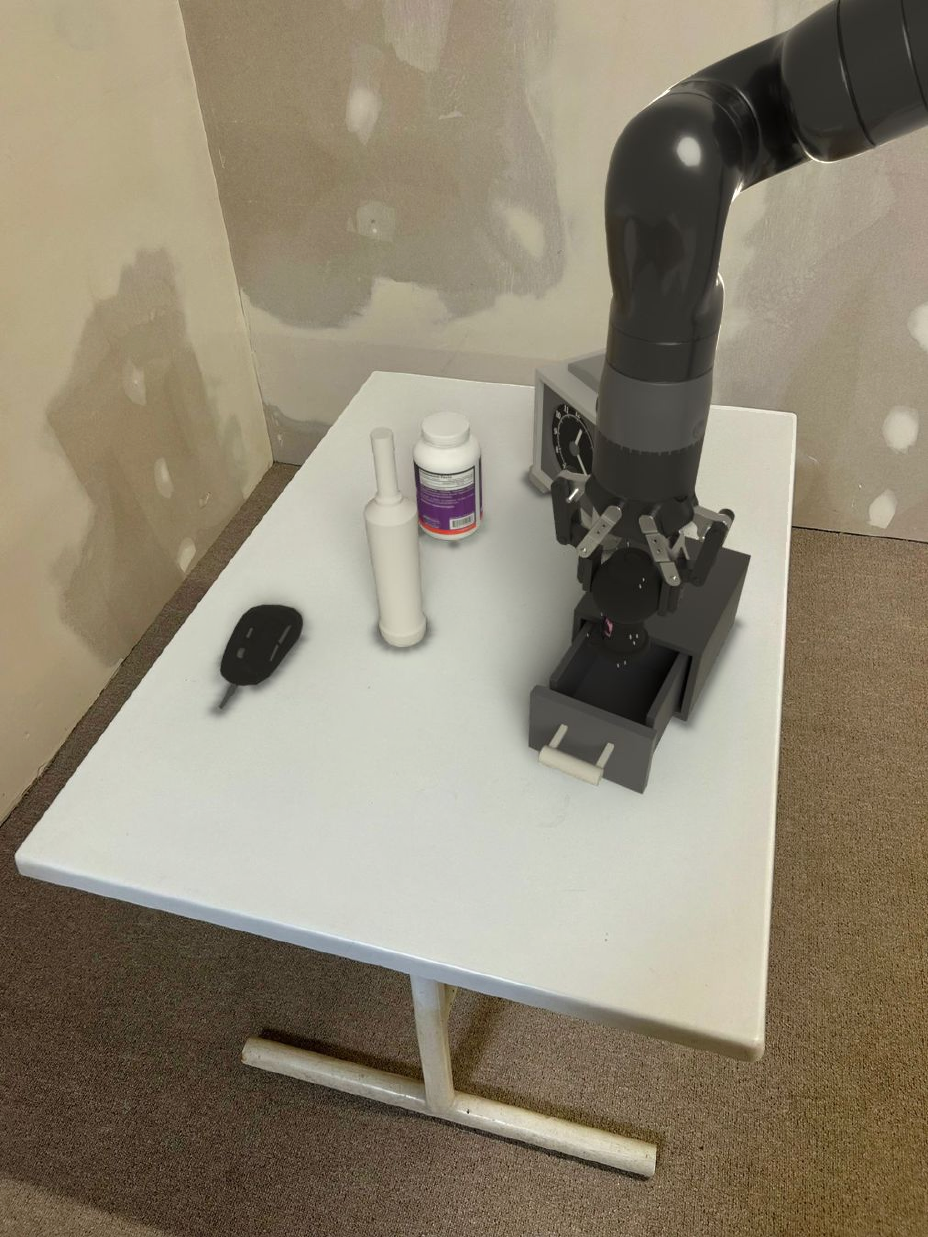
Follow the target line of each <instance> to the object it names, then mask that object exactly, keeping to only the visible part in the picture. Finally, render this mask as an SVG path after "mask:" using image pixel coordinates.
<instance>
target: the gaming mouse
mask: <svg viewBox="0 0 928 1237" xmlns="http://www.w3.org/2000/svg"><path fill="white" fill-rule="evenodd" d="M303 625H304V621H303V617H302V614H301V613H300V612H299V611H298V610H297V609H296V608H294V607H292V606H287V605H283V604H268V603H267V604H266V603H265V604H259V605H256V606H253V607H250V608H249V609H248V610H247V611H245V612H244V613H243V614H242V615H241V617H240V618H239V620H238V621H237V623H236V624H235V626H234V628H233V630H232V633H231V634H230V637H229V639H228V641H227V643H226V646H225V649H224V652H223V655H222V658H221V661H220V668H219V672H220V676H221V677H222V678H223V679H225V680H226V681H227V682H228V683H229V684H230V686H229V687H228V689H227V691H226V695H225V696H224V698H223V700H222V701H221V703H220V704H219V706H218V708H219V709H221V710H223V709H224V707H225V705H226V704H227V702H228V701H229V699H230V697H231V696H233V695H234V693H235V691H236V689H237V688H238V686H239V687H240V686H241V687H244V686H254V685H255V686H256V685H259V684H260V683H262V682H263V681H265V680H266V679H267V678H269V677H270V676H271V675H272V674H273V673H274V671H275V670H276V669H277V667H278V666H279V665H280V664H281V662H282V661H283V659H284V658H285V657H286V655H287V654H288V653H289V651H290V650H291V649H292V648H293V646H294V645H295V644H296V642H297V641H298V639H299V638H300V636H301V633H302V630H303V627H304V626H303Z"/></svg>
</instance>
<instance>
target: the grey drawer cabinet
mask: <svg viewBox="0 0 928 1237" xmlns="http://www.w3.org/2000/svg"><path fill="white" fill-rule="evenodd" d="M627 539H628V541H629V542H630V547H634V548H639V549H642V550H644V551H646V552H647V553H648V554H649V555H650V556H651V557H652V559H653V562H654V564H655V565H656V566H657V567H658V568H659V569H660V571H661V573H662V576H663V579H665V577H664V575H663V572H662V569H661V566H660V564H659V563H656V562H655V560H654V557H653V554H652V552H651V549H650V546H646V545H643V544H640V543H638V542H636V541H635V540H633V539H629V538H622V539H621V541H620V542H619V544H618V545H617V547H618V550H619V549H621V548H625V547H627ZM703 543H704V542H700V541H699V539H696V538H693V537H690V536H687V535H685V547H686V550H687V553H688V556H689V559H697V557H698V555H699V552H700V550H701V547H702V545H703ZM615 551H617V550H616V548H614V549H613V551H612V553H611V554H610V555H609V557H608V559H609V558H610V557H611V556H612V555H613V553H614V552H615ZM751 559H752V554H748V553H744V552H741V551H738V550H735V549H731V548H728V547H724V546H722V548H721V551H720V553H719V555H718V557H717V560H716V562H715V564H714V566H713V568H712V570H711V572H710V574H709V576H708V578H707V580H706V581H705V583H704V585H703V586H701V587H696V586H694V585H692V584H691V583H685V588H684V593H683V598H682V601H681V602H680V604H679V606H678V608H677V610H676V611H675V612H674V613H670V612H669V613H668V615H667V616H666V617H662V616H659V615H657V611H658V610H657V611H656V612H655V614H653V615H652V616H650V617H649V618H648V619H646V620H645V621H644V628H645V629H646V630H647V632H648V635H649V639H650V642H652V643H655V644H658V645H661V646H664V647H667V648H669V649H672V650H675V651H678V652H681V653H684V654H687V655H690V656H693V657H692V662H691V666H690V671H689V676H688V680H687V685H686V689H685V691H684V693H683V695H682V697H681V699H680V701H679V703H678V705H677V707H676V709H675V711H674V713H673V715H672V717H673V718H675V719H676V718H677V719H678V720H681V721H683V722H687V721H688V720H689V717H690V716H691V714H692V711H693V709H694V707H695V706H696V703H697V701H698V699H699V697H700V695H701V693H702V690H703V688H704V687H705V685H706V682H707V680H708V678H709V676H710V674H711V672H712V670H713V667H714V665H715V663H716V661H717V659H718V657H719V655H720V653H721V651H722V649H723V647H724V645H725V643H726V641H727V638H728V636H729V634H730V632H731V630H732V629H733V628H732V627H733V626H734V623H735V620H736V616H737V612H738V608H739V604H740V601H741V596H742V594H743V593H742V592H743V590H744V585H745V581H746V577H747V573H748V569H749V566H750V562H751ZM603 616H604V615H603ZM602 619H603V617H602V616H601V612H600V610H599V609H598V608H597V606H596V605H595V603H594V599H593V595H592V592H591V593H589V592H586V591H585V593H584V594H583V596H582V597H581V599H580V600H579V602H578V603H577V604H576V606H575V608H574V609H573V619H572V631H571V643H570V645H571V644H572V643H573V641H574V640H575V638H576V637H577V635H578V634H579V632H580V631H581V629H582V628H583V626H584V624H585V623H586V621H587V620H588V621H591V622H594V623H597V624H599V623H601V622H602Z"/></svg>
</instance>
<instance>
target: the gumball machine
mask: <svg viewBox="0 0 928 1237" xmlns="http://www.w3.org/2000/svg"><path fill="white" fill-rule="evenodd" d="M615 541H616V543H617V538H616V536H615ZM616 550H617V551H615V552H614V553H613V552H612V553H613V555H612V556H611V555H610V556H611V557H610V556H609V557H610V558H609V557H608V558H607V559H606V560H604V561H603V562H602V563H601V566H600V567H599V568H598V569H597V571H596V572H595V574H594V577H593V582H592V587H591V591H592V595H593V599H594V603H595V605H596V606H597V608H598V609H599V610H600V612H601V616H602V617H603V619H602V622H601V623H599V624H598V626H597V627H596V628H595V630H594V632H593V634H590V635H588V633H587V637H588V643H587V648H588V649H589V650H590V651H591V652H594V653H598V654H600V655H601V656H602V657H603V658H605V659H608V660H610V661H613V662H617V667H618V669H619V664H618V662H619V663H624V664H625V666H626V664H627V663H628V662H633V661H636V660H639V659H641V658H642V657H643V656H645V655H646V653H647V652H648V650H649V646H650V639H649V635H648V632H647V630H646V629H645V628H644V621H645V620H646V619H648V618H649V617H650V616H652V615H653V614H655V612H656V611H657V610H658V605H659V599H660V593H661V587H662V582H663V581H664V579H663V576H662V573H661V571H660V569H659V568H658V567H657V566H656V565H655V564H654V562H653V559H652V557H651V556H650V555H649V554H648V553H647V552H646V551H644V550H642V549H639V548H634V547H630V542H629V541H628V539H627V547H625V548H621V549H619V550H618V547H616ZM603 615H604V616H603Z"/></svg>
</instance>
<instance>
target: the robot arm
mask: <svg viewBox="0 0 928 1237" xmlns="http://www.w3.org/2000/svg"><path fill="white" fill-rule="evenodd" d="M925 127H928V0H832V1H830V2H828V3H826V4H825V5H823V6H822V7H820V8H818V9H817V10H815V11H814V12H812V13H811V14H809V15H808V16H807V17H805V18H804V19H802V20H801V21H799V22H798V23H797V24H794V26H792V27H791V28H789V29H787V30H785V31H783V32H780V33H778V34H775V35H772V36H770V37H768V38H765V39H763V40H761V41H759V42H757V43H754V44H752V45H750V46H747V47H746V48H743V49H741V50H738V51H737V52H734V53H733V54H730V55H728V56H725V57H724V58H722V59H720V60H718V61H715V62H713V63H712V64H709V65H707V66H705V67H704V68H701V69H700V70H698V71H695V72H693V73H692V74H690V75H688V76H687V77H685V78H683V79H681V80H680V81H678V82H676V83H675V84H673V85H671V86H670V87H668V88H667V89H666V90H664V92H662V93H661V94H660V95H659V96H657V98H655V99H654V100H652V101H651V102H650V103H649V104H647V105H646V106H645V107H644V108H642V109H641V110H640V111H639V112H637V113H636V114H635V115H633V117H632V118H631V119H630V120H629V121H628V122H627V123H626V125H625V126H624V128H623V129H622V131H621V132H620V134H619V136H618V138H617V140H616V142H615V143H614V147H613V149H612V153H611V155H610V159H609V164H608V168H607V174H606V179H605V186H604V201H603V202H604V203H603V209H604V210H603V218H604V219H603V220H604V233H605V242H606V243H605V244H606V254H607V256H606V257H607V266H608V274H609V279H610V284H611V298H610V304H609V311H608V324H607V333H606V346H605V348H606V355H605V362H604V367H603V371H602V375H601V379H600V385H599V393H598V397H597V400H596V408H595V410H596V413H597V416H596V428H595V439H594V451H593V463H592V474H591V475H584V474H578V473H577V470H576V469H575V468H574V467H572V466H566V467H565V468H564V469H563V470H562V471H561V472H560V473H559V475H558V476H557V477H556V478H555V480H554V481H553V482H552V484H551V491H550V494H551V504H552V511H553V512H552V513H553V514H552V515H553V522H554V523H553V524H554V531H555V538H556V541H557V543H558V544H560V545H562V546H569V545H570V546H571V547H572V548H574V549H575V551H576V554H577V556H578V559H577V569H576V570H577V571H576V579H577V582H578V583H579V584H581V585H582V587H581V590H582V591H583V592H585V593H586V592H589V593H591V592H592V591H591V587H592V582H593V577H594V574H595V572H596V571H597V569H598V568H599V567H600V566H601V564H602V563H603V562H602V561H603V551H604V550H603V545H600V542H601V541H602V540H603V539H604V537H605V536H606V535H607V534H608V532H609V531H611V532H612V535H613V536H617V537H620V538H629V539H633V540H635V541H636V542H638V543H640V544H643V545H646V546H650V549H651V552H652V554H653V557H654V560H655V562H656V563H659V564H660V566H661V569H662V572H663V575H664V577H665V579H664V581H663V582H662V587H661V593H660V599H659V605H658V611H657V615H659V616H662V617H666V616H667V615H668V613H669V612H670V613H674V612H675V611H676V610H677V608H678V606H679V604H680V602H681V601H682V598H683V593H684V588H685V583H691V584H692V585H694V586H696V587H701V586H703V585H704V583H705V581H706V580H707V578H708V576H709V574H710V572H711V570H712V568H713V566H714V564H715V562H716V560H717V557H718V555H719V553H720V551H721V548H722V547H724V546H723V545H724V544H725V542H726V539H727V536H728V535H729V531H730V530H731V528H732V525H733V523H734V521H735V518H736V514H735V512H734V511H733V510H731V509H729V508H725V507H724V508H721V509H720V510H719V511H718V512H716V511H713V510H711V509H709V508H706V507H704V506H702V505H700V503H699V500H698V496H697V494H696V485H697V480H698V474H699V468H700V462H701V458H702V453H703V448H704V441H705V437H706V436H705V435H706V431H707V425H708V421H709V414H710V410H711V404H712V397H713V383H714V366H715V359H716V356H717V350H718V349H717V348H718V344H719V337H720V332H721V327H722V323H723V322H722V321H723V313H724V308H725V283H724V281H723V278H722V276H721V275H720V273H719V270H720V262H721V257H722V249H723V243H724V237H725V231H726V227H727V221H728V217H729V214H730V210H731V206H732V203H733V201H734V200H735V198H736V197H737V196H738V195H740V194H741V193H743V192H745V191H747V190H749V189H750V188H752V187H754V186H756V185H758V184H760V183H763V182H765V181H767V180H769V179H771V178H774V177H776V176H779V175H782V174H784V173H787V172H788V171H790V170H793V169H795V168H797V167H800V166H802V165H804V164H808V163H809V162H812V161H814V160H815V161H816V162H819V163H823V164H831V163H836V162H841V161H843V160H844V161H845V160H848V159H850V158H854V157H856V156H860V155H862V154H865V153H867V152H870V151H872V150H875V149H877V148H878V147H882V146H884V145H886V144H888V143H891V142H893V141H896V140H898V139H901V138H902V137H905V136H907V135H910V134H912V133H914V132H916V131H919V130H921V129H924V128H925ZM584 492H586V495H587V496H588V498H589V500H590V502H591V503H592V505H593V507H594V508H595V510H596V512H597V513H598V515H599V518H598V520H597V521H596V522H595V523H594V525H593V526H592V527H591V529H590V530H589V529H587V528H586V527H584V526H583V522H582V518H581V507H580V497H581V496H582V495H583V493H584ZM690 523H693V524H694V525H695V526H696V534H697V535H696V536H697V537H698V540H699V541H700V542H704V543H703V545H702V547H701V550H700V552H699V555H698V557H697V559H689V556H688V553H687V550H686V547H685V536H686V534H685V531H684V527H686V526H687V525H688V524H690Z"/></svg>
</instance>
